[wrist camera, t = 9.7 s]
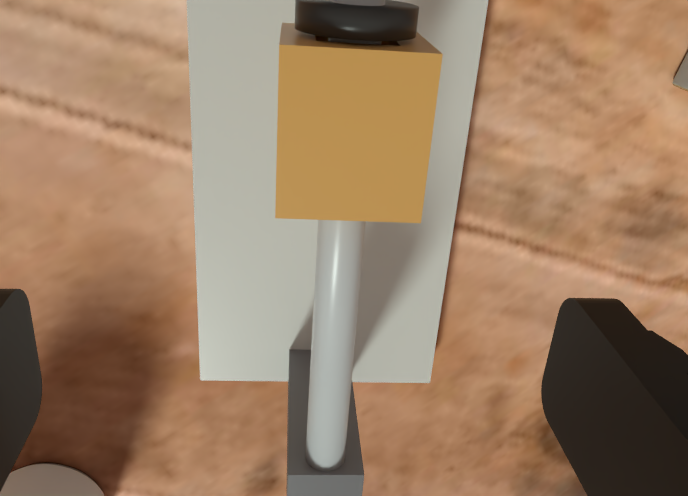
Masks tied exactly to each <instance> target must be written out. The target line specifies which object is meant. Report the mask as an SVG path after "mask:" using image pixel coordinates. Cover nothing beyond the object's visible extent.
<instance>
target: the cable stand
mask: <svg viewBox="0 0 688 496" xmlns="http://www.w3.org/2000/svg"><path fill="white" fill-rule="evenodd" d="M487 7H488V0H187V22H188V49H189V77H190V105H191V133H192V161H193V189H194V217H195V245H196V273H197V301H198V329H199V357H200V380H218V381H288V430H287V496H362V490H363V481H364V470H363V463H362V455H361V447H360V439H359V431H358V423H357V416H356V408H355V400H354V392H353V384H352V382H395V383H430V379H431V372H432V366H433V359H434V353H435V346H436V340H437V333H438V326H439V320H440V313H441V307H442V300H443V294H444V287H445V281H446V274H447V268H448V261H449V255H450V248H451V242H452V235H453V229H454V222H455V215H456V209H457V202H458V196H459V189H460V183H461V176H462V170H463V163H464V157H465V150H466V144H467V137H468V131H469V124H470V118H471V111H472V104H473V98H474V91H475V85H476V78H477V72H478V65H479V59H480V52H481V46H482V39H483V33H484V26H485V20H486V13H487ZM282 23H295V29H296V30H298V31H301V32H304V33H307V34H312V35H317V36H322V37H328V42H344V43H361V44H378V45H381V43H382V41H402V40H410V39H413V38H415V37H416V33H417V32H418V33H419V34H420V35H421V36H422V37H423V38H425V39H426V40H427V41H428V42H429V43H430V44H432V45H433V46H434V47H435V48H436V49H438V50H439V51H440V52H441V53H442V54H443V56H442V64H441V72H440V79H439V87H438V95H437V103H436V110H435V118H434V126H433V134H432V141H431V149H430V157H429V165H428V172H427V180H426V188H425V196H424V203H423V211H422V219H421V223H400V222H370V221H341V220H311V219H282V218H275V205H276V161H277V117H278V73H279V42H280V34H281V26H282Z"/></svg>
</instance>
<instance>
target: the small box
mask: <svg viewBox="0 0 688 496" xmlns="http://www.w3.org/2000/svg"><path fill="white" fill-rule="evenodd" d="M673 85H674V86H677V87H679V88H681V89H684V90H686V91H688V52H687V54H686V56H685V58H684V60H683V62H682V64H681V66H680V68H679V70H678V72H677V74H676V76H675V78H674V80H673Z"/></svg>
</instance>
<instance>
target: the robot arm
mask: <svg viewBox="0 0 688 496" xmlns="http://www.w3.org/2000/svg"><path fill="white" fill-rule="evenodd" d="M541 393H542V404H543V409H544V413H545V416H546V419H547V421H548V423H549V425H550V427H551V428H552V430H553V432H554V434H555V436H556V438H557V440H558V441H559V443H560V445H561V447H562V449H563V451H564V453H565V455H566V456H567V458H568V460H569V462H570V464H571V466H572V468H573V469H574V471H575V473H576V475H577V477H578V479H579V481H580V482H581V484H582V486H583V488H584V490H585V492H586V494H587V495H588V496H688V355H687V354H686V353H685V352H684V351H683V350H682V349H680V348H678V347H677V346H675V345H674V344H672V343H671V342H669V341H667V340H666V339H664V338H663V337H661V336H659V335H658V334H656V333H655V332H653V331H648V330H647V329H646V328H645V327H644V326H643V325H642V324H641V323H640V322H639V320H638V319H637V318H636V317H635V316H634V315H633V314H632V313H631V312H630V311H629V309H628V308H627V307H626V306H625V305H624V304H623V303H622V302H621V301H620V300H618V299H604V298H568V299H566V300H565V301H564V302H563V304H562V305H561V307H560V310H559V313H558V317H557V321H556V325H555V329H554V334H553V338H552V342H551V346H550V350H549V354H548V358H547V363H546V367H545V371H544V375H543V380H542V390H541ZM41 397H42V378H41V371H40V365H39V359H38V353H37V347H36V341H35V335H34V329H33V323H32V317H31V311H30V306H29V301H28V298H27V296H26V294H25V293H24V291H22V290H21V289H0V492H1V490H2V488H3V486H4V484H5V482H6V480H7V478H8V476H9V474H10V472H11V470H12V468H13V466H14V464H15V462H16V460H17V458H18V456H19V454H20V452H21V450H22V448H23V446H24V444H25V442H26V440H27V438H28V436H29V434H30V432H31V430H32V428H33V426H34V424H35V421H36V419H37V416H38V413H39V409H40V404H41Z"/></svg>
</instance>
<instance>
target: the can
mask: <svg viewBox="0 0 688 496" xmlns="http://www.w3.org/2000/svg"><path fill="white" fill-rule="evenodd" d="M0 496H104V494H103V492H102V491H101V489H100V488H99V486H98V485H97V484H96V483H95V482H94V481H93V480H92V479H91V478H90V477H89V476H87V475H86V474H84V473H83V472H81V471H79V470H77V469H75V468H72V467H69V466H65V465H61V464H55V463H38V464H33V465H30V466H26V467H23V468H20V469H17V470H15V471H13V472H11V473H10V474H9V476H8V478H7V480H6V482H5V484H4V486H3V488H2V490H1V492H0Z"/></svg>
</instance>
